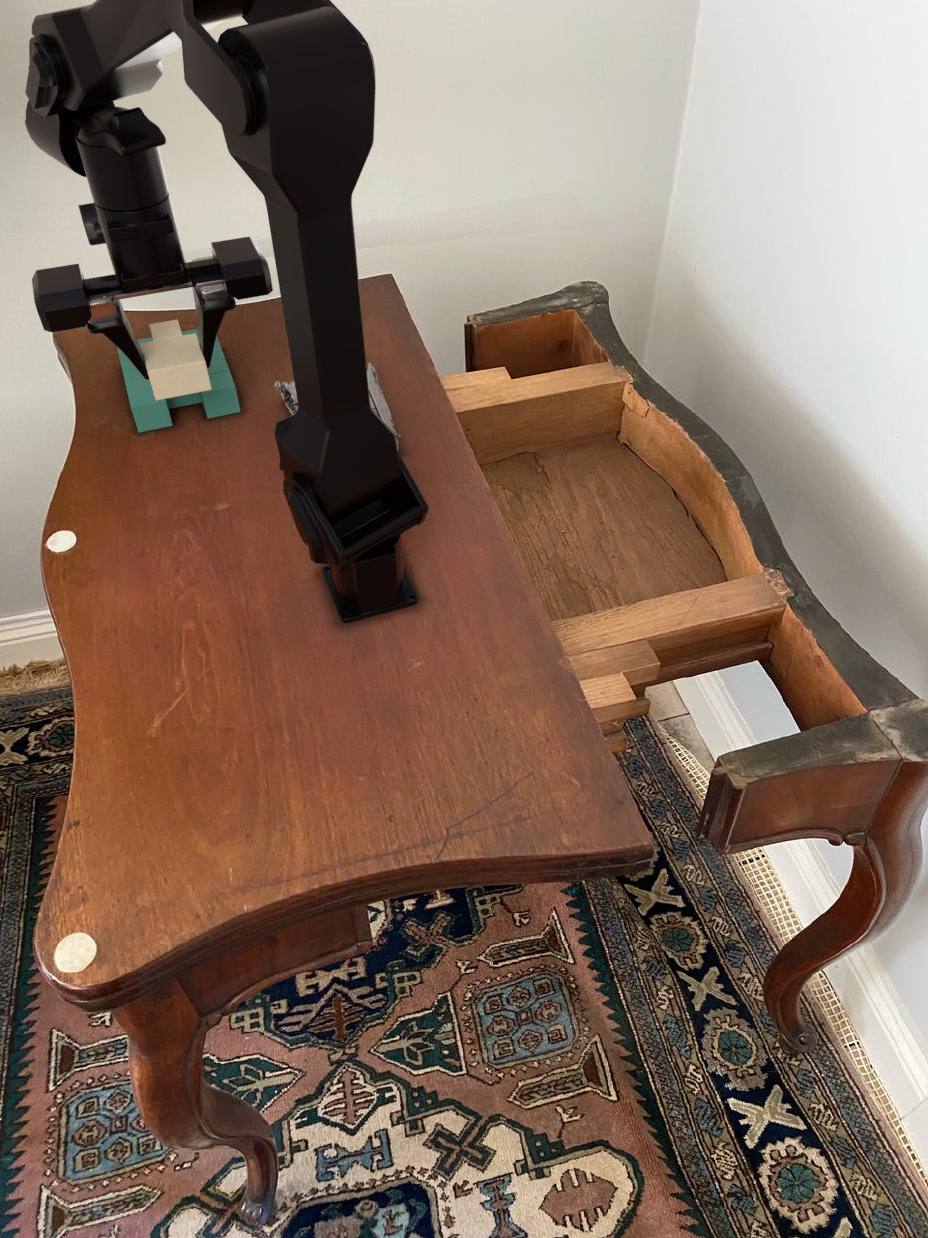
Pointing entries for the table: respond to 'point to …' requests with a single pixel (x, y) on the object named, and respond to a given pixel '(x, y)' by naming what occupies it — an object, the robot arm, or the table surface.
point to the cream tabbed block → (174, 362)
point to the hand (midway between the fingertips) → (177, 371)
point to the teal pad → (157, 412)
